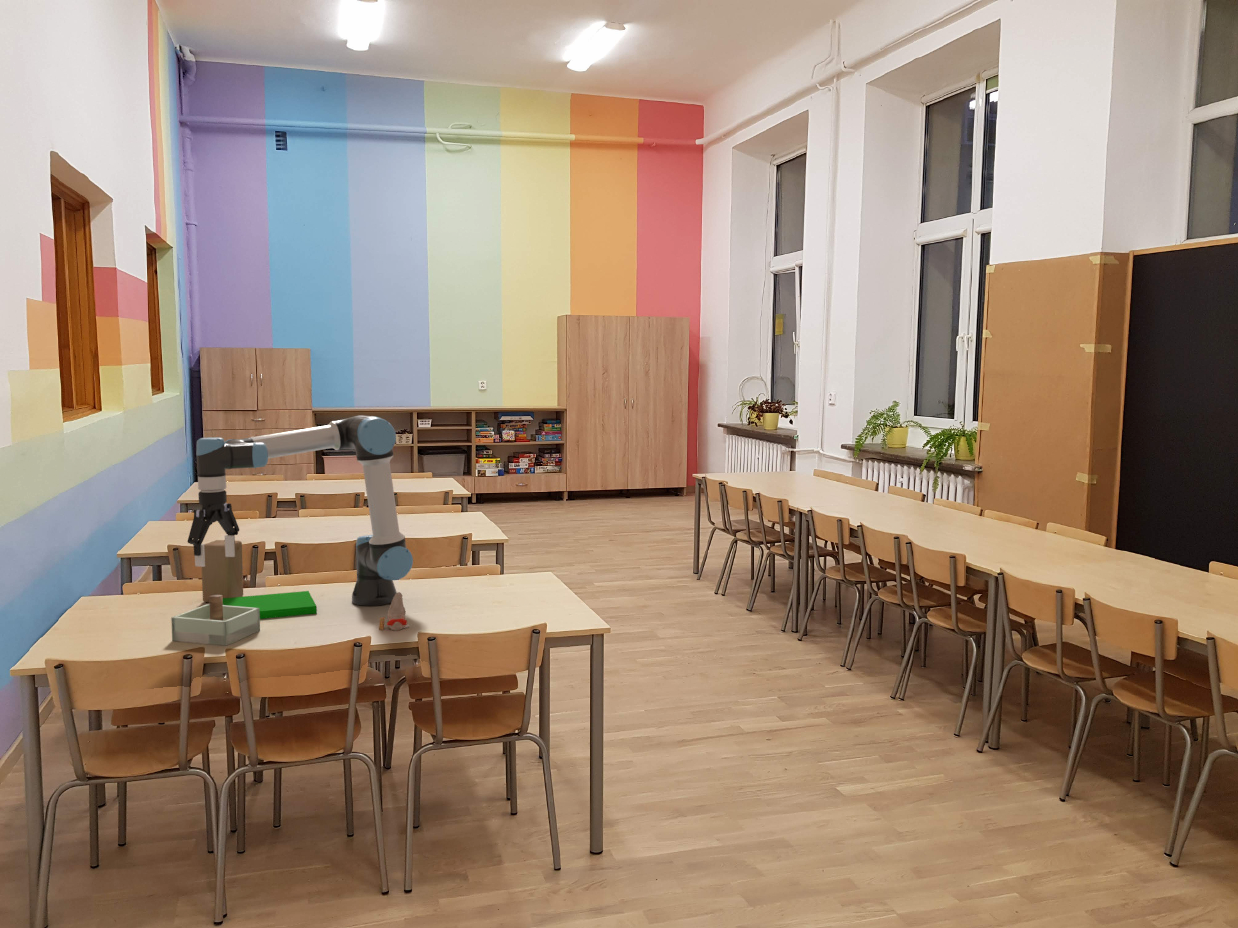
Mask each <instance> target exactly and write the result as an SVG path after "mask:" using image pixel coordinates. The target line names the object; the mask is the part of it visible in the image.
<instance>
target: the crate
mask: <svg viewBox="0 0 1238 928" xmlns="http://www.w3.org/2000/svg"><path fill="white" fill-rule="evenodd" d="M170 620H171V640H172V642H178V643H179V642H181V643H193V644H204V645H212V646H213V645H214V646H223V647H226V646H230V645H231V644H234V643H236V642H238V641H240V640H242V639H244V638H248V637H249V636H251V635H253V634H256V633H258V632H260V631H261V619H260V611H259V608H252V607H240V606H227V605H223V621H220V620H210V606H209V603H207V604H203V605H201V606H198V607H195V608H193V609H190V610H188V611H187V610H186V612H183V613H180V614H177V615H174V616H171V618H170Z"/></svg>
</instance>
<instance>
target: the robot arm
mask: <svg viewBox="0 0 1238 928" xmlns="http://www.w3.org/2000/svg"><path fill="white" fill-rule="evenodd" d="M396 440H397V433H396V430H395V428H394V426H393V425H392V424H391V423H390V422H389V421H388V420H386V419H384V418H382V417H380V416H373V415H371V416H370V415H363V414H361V415H355V416H352V417H348V418H344V419H340V420H339V419H338V420H332V421H330V422H329V423H328V424H327V425H321V426H313V427H309V428H303V429H296V430H290V431H283V432H277V433H270V434H264V435H256V436H250V437H245V438H240V439H239V438H238V439H236V438H231V439H227V440H225V439H224V438H223V437H200V438H198V440H196V454H195V455H196V466H197V467H196V468H197V484H198V485H197V486H198V487H197V488H198V490H199V492H198V503H199V505H201V509H194V510H193V519H192V523H191V527H190V531H189V534H188V538H187V544H189V545H192V546H193V555H194V564H195V565H194V566H195V567H200V568H202V567H204V566H205V552H204V544H205V543H203V542H204V540H205V537H206V535H207V533H208V530H209V529H210V527H211V525H213V523H216V522H217V523H219V525H220V527H221V528H222V530H223V531H224V533H225V535H224V540H225V557H235V548H234V545H235V541H236V539H235V538H236V537H235V536H238V535H239V532H240V526H239V524H238V522H237V519H236V517H235V514H234V512H233V507H232V503H230V502H229V503H227V497H228V496H227V491H226V489H227V478H226V477H227V476H226V475H227V474H226V470H232V469H233V470H235V469H253V468H254V469H257V468H262V467H266V466H267V465H268V462H269V459H273V458H274V459H275V458H279V457H281V458H282V457H287V456H291V455H292V456H293V455H298V454H305V453H310V452H315V451H321V450H326V449H327V450H328V449H334V450H335V451H341V450H355V456H356V461H357V462H358V463H360V464H361V466H362V469H363V477H364V483H365V491H366V498H367V505H368V512H369V519H370V527H371V532H372V533H371V534H366V535H361V536H358V537H357V538H356V542H355V543H356V545H355V549H356V551H355V552H356V555H355V556H356V582H355V585H354V588H353V591H352V594H351V602H352V603H353V605H354V604H355V605H357V606H363V607H364V606H365V607H371V606H372V607H375V606H385V605H389V604H390V605H391V602H392V600H393V597H394V596H395V594H396V593H398V591H397V588H396V586H395V583H394V581H399V580H401V579H404V578H405V577H406V576H408V574H409V573H410V571H411V570H412V567H413V564H414V558H413V554H412V552H411V551H410V550H409V549H408V548H407V545H406V543H407V542H406V537H405V535H404V534H403V533H402V532H400V527H399V520H398V514H397V513H398V512H397V506H396V499H395V491H394V483H393V475H392V471H391V470H392V469H391V463H390V462H391V460H392V459H393V458H394V456H395V455H394V449H393V448H394V446H395V445H396V443H397V442H396Z"/></svg>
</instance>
